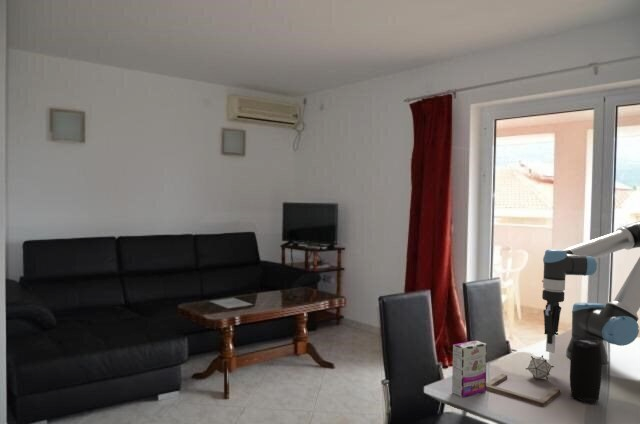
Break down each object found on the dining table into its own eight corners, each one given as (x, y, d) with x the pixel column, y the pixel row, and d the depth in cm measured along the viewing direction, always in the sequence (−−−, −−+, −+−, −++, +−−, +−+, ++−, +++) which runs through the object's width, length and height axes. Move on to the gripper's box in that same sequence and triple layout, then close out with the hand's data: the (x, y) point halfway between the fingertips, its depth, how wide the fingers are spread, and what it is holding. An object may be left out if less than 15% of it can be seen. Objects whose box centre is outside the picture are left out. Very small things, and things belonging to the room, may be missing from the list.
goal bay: (501, 377, 176) (501, 373, 176) (560, 393, 162) (560, 389, 162) (482, 388, 164) (482, 384, 164) (543, 406, 151) (543, 403, 151)
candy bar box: (474, 387, 165) (476, 339, 165) (486, 392, 161) (488, 343, 161) (450, 392, 160) (452, 343, 160) (461, 398, 156) (463, 347, 155)
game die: (544, 390, 174) (558, 374, 168) (521, 379, 176) (534, 363, 170) (544, 371, 181) (557, 355, 175) (522, 361, 183) (534, 345, 177)
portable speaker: (604, 400, 157) (607, 341, 156) (591, 407, 151) (593, 345, 151) (577, 391, 164) (580, 334, 163) (563, 398, 158) (566, 338, 158)
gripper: (549, 287, 191) (546, 346, 191) (537, 290, 181) (533, 352, 182) (569, 289, 186) (566, 350, 186) (558, 293, 176) (554, 357, 177)
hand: (550, 351), depth 184 cm, fingers closed
